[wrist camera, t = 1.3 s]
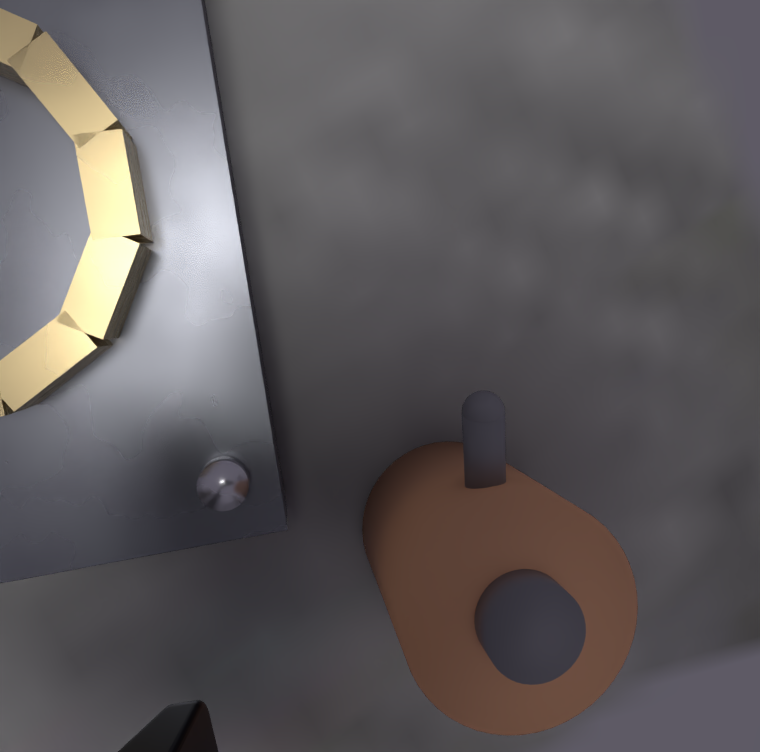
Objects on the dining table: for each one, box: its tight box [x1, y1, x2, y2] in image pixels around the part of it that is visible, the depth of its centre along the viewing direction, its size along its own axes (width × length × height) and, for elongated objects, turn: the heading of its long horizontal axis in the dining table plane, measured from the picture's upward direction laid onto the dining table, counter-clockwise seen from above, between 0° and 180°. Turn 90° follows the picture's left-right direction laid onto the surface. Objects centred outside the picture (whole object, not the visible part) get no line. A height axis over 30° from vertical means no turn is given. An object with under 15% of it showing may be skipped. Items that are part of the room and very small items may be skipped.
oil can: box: [362, 391, 638, 735], centre depth 17 cm, size 7×5×7 cm
